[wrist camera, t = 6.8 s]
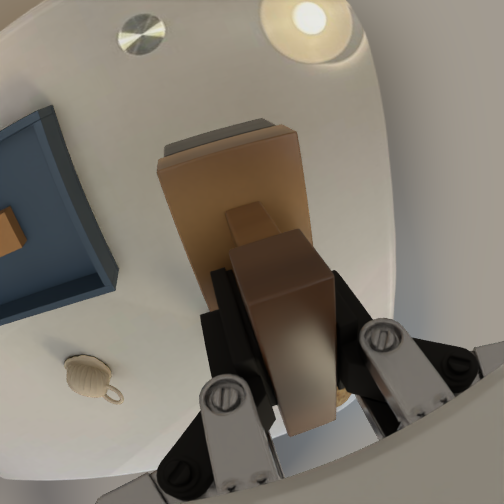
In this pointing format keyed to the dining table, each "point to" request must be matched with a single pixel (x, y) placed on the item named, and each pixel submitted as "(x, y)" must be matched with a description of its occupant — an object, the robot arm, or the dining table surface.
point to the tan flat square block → (10, 232)
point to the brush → (261, 254)
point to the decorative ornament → (90, 377)
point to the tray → (48, 224)
